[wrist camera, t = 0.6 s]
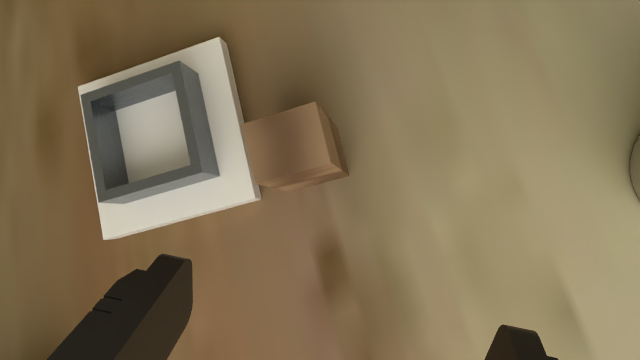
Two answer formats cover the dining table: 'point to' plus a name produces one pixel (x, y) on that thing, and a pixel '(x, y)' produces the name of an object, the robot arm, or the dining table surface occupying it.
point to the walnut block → (295, 148)
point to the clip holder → (167, 141)
